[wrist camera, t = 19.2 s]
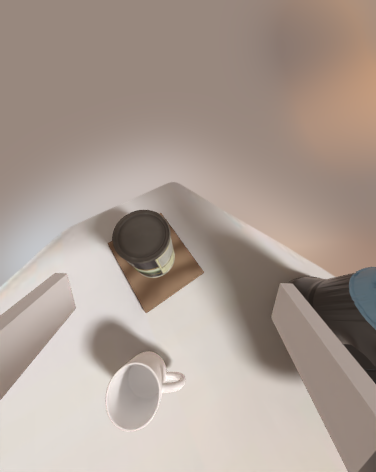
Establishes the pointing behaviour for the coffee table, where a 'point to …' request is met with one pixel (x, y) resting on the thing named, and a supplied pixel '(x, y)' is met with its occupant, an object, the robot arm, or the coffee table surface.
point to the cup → (139, 391)
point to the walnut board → (163, 286)
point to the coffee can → (145, 242)
